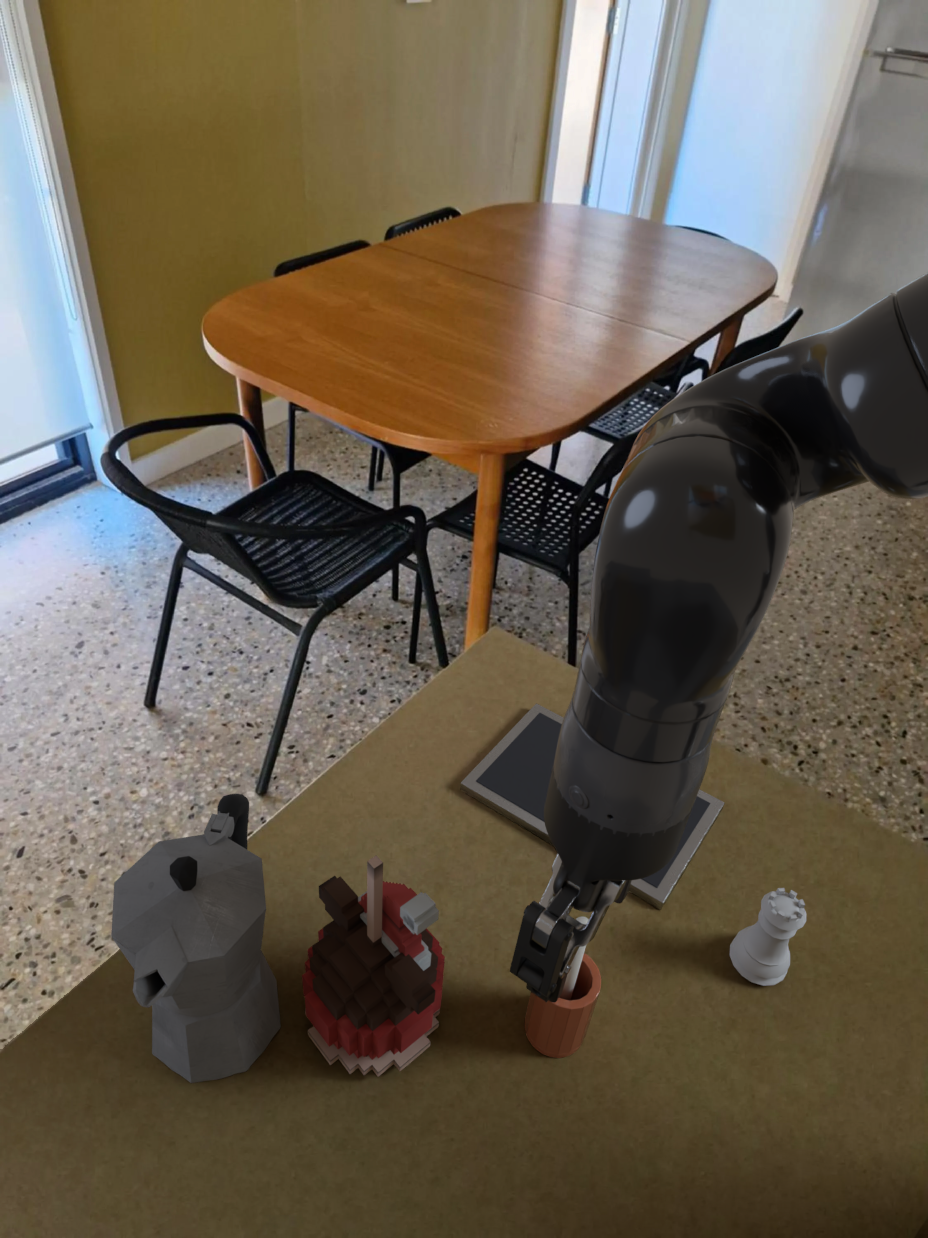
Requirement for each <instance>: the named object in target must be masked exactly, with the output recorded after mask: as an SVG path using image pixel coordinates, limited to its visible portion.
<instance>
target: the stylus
mask: <svg viewBox="0 0 928 1238" xmlns="http://www.w3.org/2000/svg"><path fill="white" fill-rule="evenodd" d="M575 919H576V920H577V921H579V922H580V923H582V924H587V923H588V921H589V919H590V918H588V917H586V916H578V917H577V918H575ZM586 947H587V945H586V946H583V947H579V949H578V951H577V953H576V955H575V957H574V959H573V961H572V963H571V965H570V966H571V969H570V971H569V973H568V974H567V978H566V981H565V985H564V988H563V992H562V994H561V995H560V997H559V998H561V999H565V1000H569V1001H570V1000H571V997H572V993H573V990H574V986H575V983H576V979H577V976H578V972H579V969H580V965H581V962H582V958H583V955H584V953H585V951H586Z"/></svg>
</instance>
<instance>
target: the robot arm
mask: <svg viewBox="0 0 928 1238" xmlns="http://www.w3.org/2000/svg"><path fill="white" fill-rule="evenodd" d="M869 482H870V483H871V484H872V485H873V486H874V487H875V488H876V489H878V490H879V491H881V492H882V493H884V494H886V495H887V496H888V495H889V496H891V497H893V498H896V499H902V500H903V499H904V500H917V499H923V498H927V497H928V271H927V272H926V273H924V274H922V275H920V276H918V277H917V278H914V279H913V280H912V281H910V282H908V283H906V284H905V285H903V286H901V287H899V288H898V289H896V292H895V293H894V292H890V293H889V294H887V295H885V296H884V297H883V298H881V299H878V301H875V302H874V303H873V304H871V305H870V306H869V307H867V308H865V309H864V310H862V311H861V312H859V313H858V314H856V315H855V316H853V317H852V318H850V319H848V320H846V321H844V322H842V323H840V324H838V325H836V326H833V327H831V328H828V329H826V330H822V331H819V332H816V333H814V334H810V335H807V336H803V337H800V338H798V339H796V340H795V339H794V340H793V341H790V342H789V343H786V344H783V345H781V346H778V347H776V348H773V349H771V350H769V351H766V352H763V353H760V354H759V355H756V356H754V357H751V358H748V359H746V360H744V361H743V360H742V362H739V363H736V364H734V365H732V366H729V367H727V368H725V369H723V370H721V371H719V372H717V373H715V374H713V375H711V376H708V377H707V378H705V379H703V380H701V381H699V382H697V383H696V384H693V386H691V387H689V388H688V389H686V390H685V391H683V392H681V393H680V394H678V395H677V396H676V397H674V398H673V399H671V400H670V401H669V402H667V403H666V404H665V405H664V406H662V407H661V408H660V409H659V410H658V411H657V412H655V413H654V414H653V415H652V417H651V418H649V420H648V421H647V422H646V423H645V424H644V425H643V427H642V429H640V431H639V433H638V434H637V437H636V438H635V440H634V442H633V444H632V446H631V448H630V451H629V452H628V456H627V458H626V461H625V463H624V465H623V468H622V469H621V472H620V473H619V476H618V477H617V480H616V482H615V484H614V487H613V489H612V491H611V494H610V496H609V498H608V501H607V503H606V507H605V510H604V514H603V516H602V517H603V518H602V522H601V525H600V529H599V533H598V539H597V543H596V549H595V556H594V562H593V568H592V577H591V589H590V605H589V607H590V608H589V627H588V630H587V632H586V635H585V639H584V642H583V646H582V649H581V656H580V659H579V665H578V671H577V675H576V678H575V679H576V680H575V684H574V688H573V692H572V696H571V699H570V702H569V704H568V706H567V708H566V711H565V713H564V716H563V718H564V719H563V722H562V725H561V729H560V734H559V739H558V743H557V748H556V753H555V758H554V762H553V767H552V772H551V777H550V782H549V787H548V791H547V796H546V801H545V806H544V822H545V827H546V830H547V833H548V835H549V837H550V840H551V841H552V843H553V845H554V846H553V845H552V846H553V847H554V849H555V850H556V852H557V853H556V856H555V858H554V861H553V863H552V865H551V871H552V875H551V877H550V879H549V881H548V883H547V885H546V887H545V890H544V892H543V894H542V895H541V898H540V900H539V902H537V901H535V900H532V901H531V902H530V903H529V905H528V904H527V906H526V907H525V909H524V910H523V916H522V919H521V923H520V927H519V931H518V934H517V939H516V944H515V947H514V951H513V955H512V958H511V962H510V968H509V973H511V974H512V975H514V977H516V978H517V979H519V980H520V981H522V982H524V983H525V984H526V985H525V989H526V990H528V991H529V992H532V993H534V994H535V995H536V996H538V997H539V998H541V999H542V1000H544V1001H545V1002H547V1001H548V1000H549V1001H550V1002H556V1001H557V1000H558V998H559V997H560V995H561V994H562V992H563V988H564V985H565V981H566V978H567V974H568V973H569V971H570V969H571V966H570V965H571V963H572V961H573V959H574V957H575V955H576V953H577V951H578V949H579V947H583V946H586V947H587V945H589V943H590V942H592V941H593V940H594V939H595V937H596V935H597V932H598V931H599V929H600V927H601V924H602V922H603V920H604V919H605V917H606V914H607V912H608V910H609V908H610V906H611V905H612V904H613V903H615V904H622V903H623V902H624V900H625V899H626V897H627V896H628V893H629V891H628V890H629V887H630V884H631V881H632V880H637V879H641V878H645V877H648V876H650V875H652V874H654V873H656V872H658V871H659V870H661V869H662V868H663V867H664V866H666V865H667V864H668V863H669V861H670V860H671V859H672V857H673V856H674V854H675V852H676V850H677V848H678V845H679V842H680V840H681V837H682V834H683V832H684V829H685V826H686V824H687V821H688V818H689V816H690V813H691V810H692V808H693V805H694V802H695V800H696V797H697V794H698V792H699V789H700V790H701V786H702V783H703V781H704V778H705V775H706V773H707V769H708V766H709V761H710V758H711V757H710V755H711V749H712V743H713V738H714V737H715V732H716V728H717V726H718V724H719V721H720V718H721V716H722V712H723V710H724V707H725V704H726V702H727V699H728V697H729V695H730V692H731V688H732V685H733V682H734V678H735V673H736V670H737V666H738V664H739V663H740V662H741V660H742V658H743V656H744V655H745V653H746V652H747V649H748V648H749V646H750V644H751V642H752V641H753V639H754V637H755V635H756V634H757V632H758V629H759V628H760V626H761V624H762V622H763V620H764V618H765V616H766V613H767V611H768V609H769V607H770V605H771V602H772V600H773V598H774V595H775V592H776V589H777V587H778V585H779V582H780V579H781V576H782V574H783V571H784V568H785V565H786V562H787V558H788V555H789V550H790V545H791V540H792V534H793V527H794V516H795V510H796V509H799V508H800V507H802V506H803V505H805V504H807V503H809V502H813V501H814V500H816V499H819V498H822V497H825V496H827V495H831V494H834V493H836V492H837V493H838V492H840V491H843V490H846V489H850V488H852V487H853V488H854V487H856V486H859V485H863V484H866V483H869ZM572 909H574V910H576V911H579V912H583V913H591V915H590V917H589V918H588V919H589V921H588V923H587V924H582V923H580V922H579V921H577V920H576V919H577V918H574V917H572V916H571V915H570V912H571V911H572Z"/></svg>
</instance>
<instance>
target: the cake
mask: <svg viewBox="0 0 928 1238" xmlns="http://www.w3.org/2000/svg"><path fill="white" fill-rule="evenodd" d="M318 898H319V899H320V901H321V902H322V903H323V904H324V911H326V913H327V914H328V915H329V916H330V918H332V921H330V922H329V923H327V924H326V925H324V926H322V928H320V929H319V930H318V931H317V937H318V938H317V939H318V940H317V942H315V943H313V945H311V946H310V947H308V948H307V950H306V952H307V960H305V961H304V973H302V974H301V980H302V982H301V983H302V994H303V997H304V1006H305V1009H304V1015H305V1016H306V1018H307V1019H308V1021H309V1022H310V1023H311V1025H312V1026H311V1027H310V1028H309V1029H307V1036H308V1037H309V1038H310V1040H311V1041H312V1043H313V1044H314V1045H315V1047H316V1048H317V1049H318V1051H319V1052H320V1053H321V1055H322V1056H323V1058H324V1059H325V1060H326V1062H327V1063H328V1065H329V1066H332V1065H333V1064H334V1063H335V1062H336V1061H338V1060H339V1062H340V1063H341V1064H342V1066H343V1067H344V1069H345V1070H346V1071H347V1072H348V1074H349V1075H352V1073H354V1072H356V1070H359V1071H360V1073H361V1074H362V1075H363V1076H366V1075H367V1074H368V1073H369V1072H370V1071H373V1072H374V1074H375V1075H376V1076H377V1078H378V1077H380V1076H382V1074H383V1073H385V1072H386V1071H387V1070H388V1069H390V1068H391V1067H392V1066H393V1065H394V1067H395V1068H396V1069H397V1070H398V1071H399V1072H401V1071H403V1070H404V1069H405V1068H406V1067H407V1066H409V1065H410V1064H411V1063H412V1062H413V1061H415V1060H416V1059H417V1058H418V1057H419V1056H420V1055H421V1054H423V1053H424V1052H425V1051H427V1050H428V1049H429V1048H430V1047H431V1040H430V1039H429V1038H428V1036H429V1035H430V1034H432V1033H433V1032H434V1031H435V1030H436V1029H438V1028H439V1026H440V1021H439V1020H438V1019H437V1018H436V1017H437V1016H439V1015H440V1012H441V1007H442V998H443V997H442V996H443V989H444V988H443V986H444V985H443V984H444V972H445V962H446V961H445V960H446V956H445V955H444V954H443V947H442V946H441V945H440V940H438V939H437V938H436V937H435V936H434V935H433V934H432V932H431V931H430V930H429V929H428V928H429V927H431V926H432V925H433V924H434V923H436V922H437V921H438V920H439V917H440V915H439V914H440V910H439V909H438V908H437V905H436V904H437V903H436V902H435V901H434V900H433V899H432V898H431V897H430V896H429V895H428V894H427V892H424V893H423V892H422V891H421V892H419V893H417V892H415V891H414V889H412V888H411V887H408V886H407V885H406V884H405V883H401V882H400V883H398V882H394V881H392V882H391V881H385V880H384V862H383V860H382V859H381V858H380V857H379V856H378V855H377V854H375V855H374V856H372V857H371V858H370V859H368V860H367V861H366V891H365V892H363V893H362V894H361V895H358V894H357V893H356V892H355V891H354V890H353V889H352V888H351V886H350V885H349V884H348V883H347V882H346V880H344V878H343V877H342V876H341V875H340V876H338V877H337V876H336V875H333V876H332V877H330V878H328V879H327V880H326V881H324V882H322V883H321V884H320V885H318Z"/></svg>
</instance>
